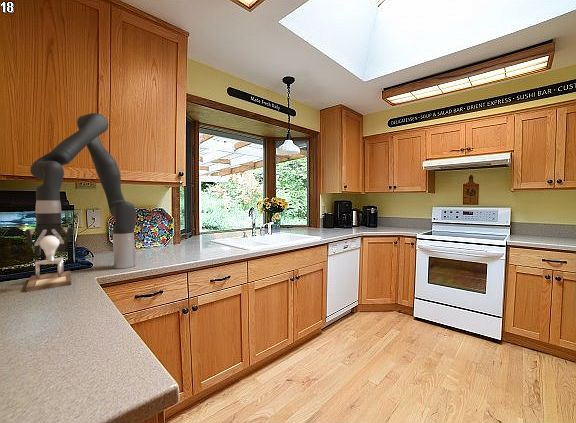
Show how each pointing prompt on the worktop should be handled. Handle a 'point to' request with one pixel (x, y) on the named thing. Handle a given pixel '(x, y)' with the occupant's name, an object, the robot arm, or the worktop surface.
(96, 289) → the worktop surface
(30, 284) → the walnut board
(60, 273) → the silver arch frame
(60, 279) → the cork pad
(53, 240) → the lightbulb
